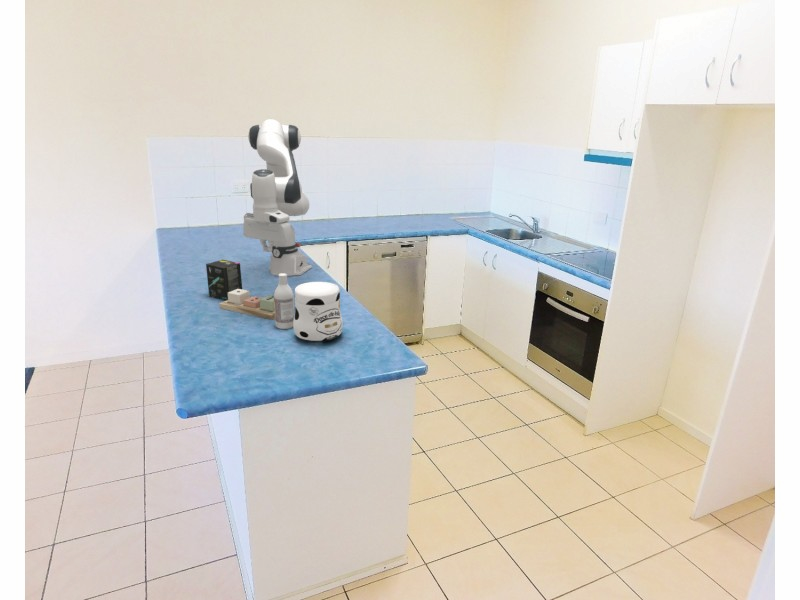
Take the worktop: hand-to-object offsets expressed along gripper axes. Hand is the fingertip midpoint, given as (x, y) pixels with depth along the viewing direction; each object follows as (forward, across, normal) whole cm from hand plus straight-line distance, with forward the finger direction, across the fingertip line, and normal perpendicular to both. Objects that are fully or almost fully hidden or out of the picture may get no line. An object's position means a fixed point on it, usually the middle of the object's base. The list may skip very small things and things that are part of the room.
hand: (267, 251), depth 202 cm
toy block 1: (+23, -16, 0) cm, 28 cm away
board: (+25, -8, 0) cm, 26 cm away
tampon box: (+25, -29, +6) cm, 39 cm away
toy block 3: (+23, 0, 0) cm, 23 cm away
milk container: (+25, +29, -10) cm, 40 cm away
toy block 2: (+25, -8, 0) cm, 26 cm away
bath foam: (+25, +13, -8) cm, 29 cm away
